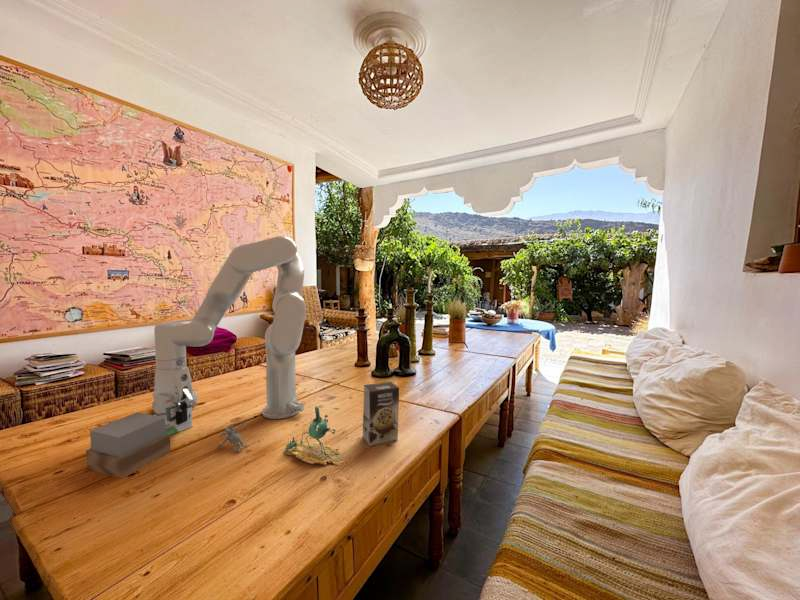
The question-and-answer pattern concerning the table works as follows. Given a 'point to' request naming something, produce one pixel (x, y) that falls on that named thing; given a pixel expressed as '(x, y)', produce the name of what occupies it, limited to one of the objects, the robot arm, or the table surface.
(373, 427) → the coffee box
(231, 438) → the elephant figurine
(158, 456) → the tower bottom
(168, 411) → the ink box
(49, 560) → the table surface
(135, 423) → the tower top
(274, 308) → the robot arm
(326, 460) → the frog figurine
